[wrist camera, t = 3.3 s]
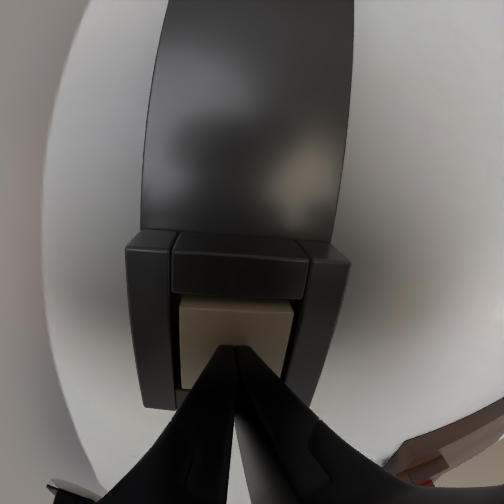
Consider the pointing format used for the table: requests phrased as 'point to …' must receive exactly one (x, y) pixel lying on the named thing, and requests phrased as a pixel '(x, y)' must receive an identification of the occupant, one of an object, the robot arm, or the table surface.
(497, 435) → the walnut key block
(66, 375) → the table surface
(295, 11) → the black key block
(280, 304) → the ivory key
